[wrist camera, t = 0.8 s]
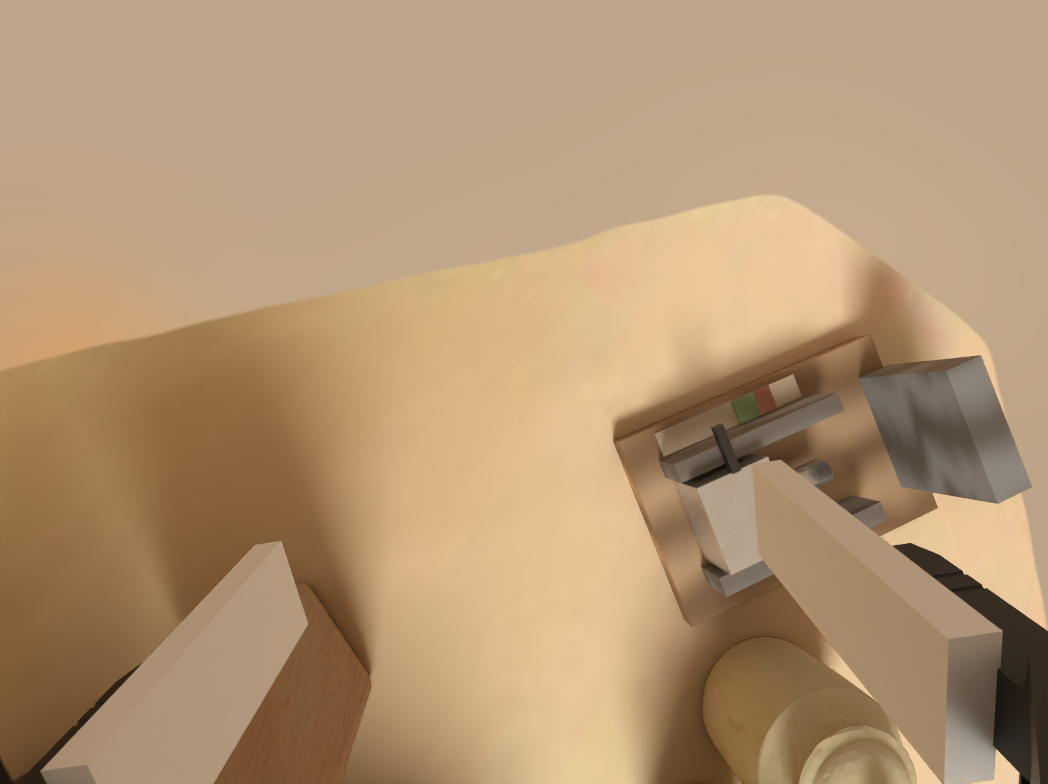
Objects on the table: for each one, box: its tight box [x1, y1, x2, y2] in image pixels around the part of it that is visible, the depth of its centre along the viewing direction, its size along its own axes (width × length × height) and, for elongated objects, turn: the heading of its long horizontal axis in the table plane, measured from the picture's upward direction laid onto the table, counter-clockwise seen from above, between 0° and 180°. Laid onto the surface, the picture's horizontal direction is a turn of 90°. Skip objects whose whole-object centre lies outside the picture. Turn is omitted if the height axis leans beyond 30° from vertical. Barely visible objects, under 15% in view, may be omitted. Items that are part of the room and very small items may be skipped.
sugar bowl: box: [702, 637, 917, 784], centre depth 36 cm, size 15×11×15 cm
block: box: [214, 583, 372, 784], centre depth 29 cm, size 10×10×20 cm
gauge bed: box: [613, 335, 1032, 627], centre depth 40 cm, size 16×24×10 cm, turn 112°
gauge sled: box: [674, 424, 833, 575], centre depth 40 cm, size 10×11×5 cm
